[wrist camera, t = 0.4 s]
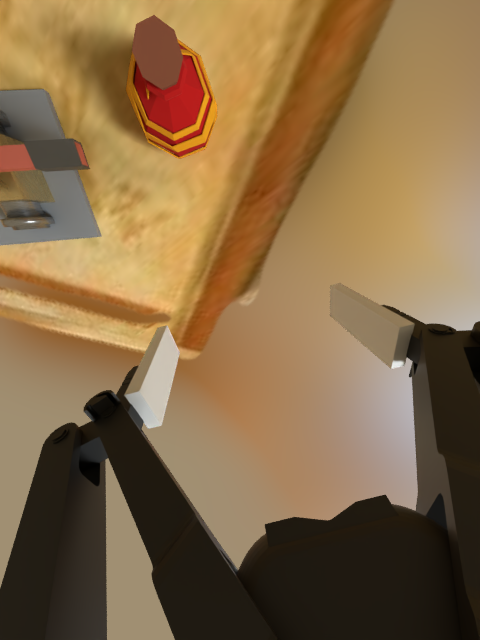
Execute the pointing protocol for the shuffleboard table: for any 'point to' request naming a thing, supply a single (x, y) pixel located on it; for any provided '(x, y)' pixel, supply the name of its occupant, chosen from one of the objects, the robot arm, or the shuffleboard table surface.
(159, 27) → the potion bottle
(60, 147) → the lever
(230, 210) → the shuffleboard table surface
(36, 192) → the valve body
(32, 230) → the slate board
